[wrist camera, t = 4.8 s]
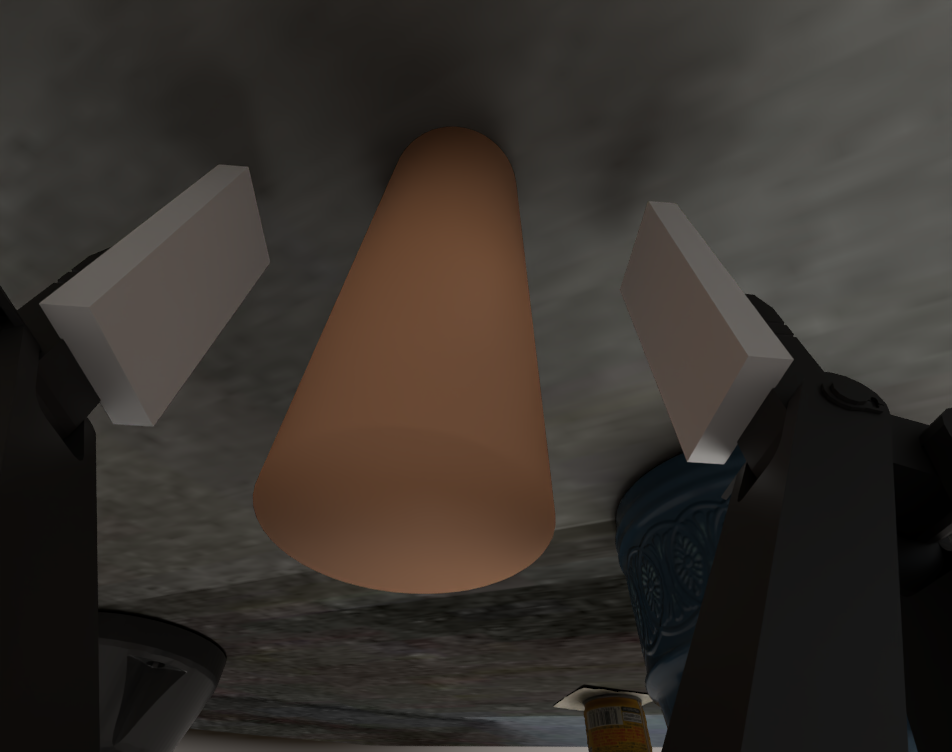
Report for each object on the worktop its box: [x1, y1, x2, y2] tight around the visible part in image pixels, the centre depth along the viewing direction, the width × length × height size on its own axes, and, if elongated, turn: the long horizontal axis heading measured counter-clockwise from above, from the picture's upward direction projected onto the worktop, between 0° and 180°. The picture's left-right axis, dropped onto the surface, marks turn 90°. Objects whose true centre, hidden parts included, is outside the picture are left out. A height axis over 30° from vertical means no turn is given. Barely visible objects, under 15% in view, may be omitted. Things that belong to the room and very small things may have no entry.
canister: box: [615, 444, 918, 752], centre depth 20 cm, size 13×13×18 cm
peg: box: [253, 127, 555, 594], centre depth 11 cm, size 4×4×12 cm
